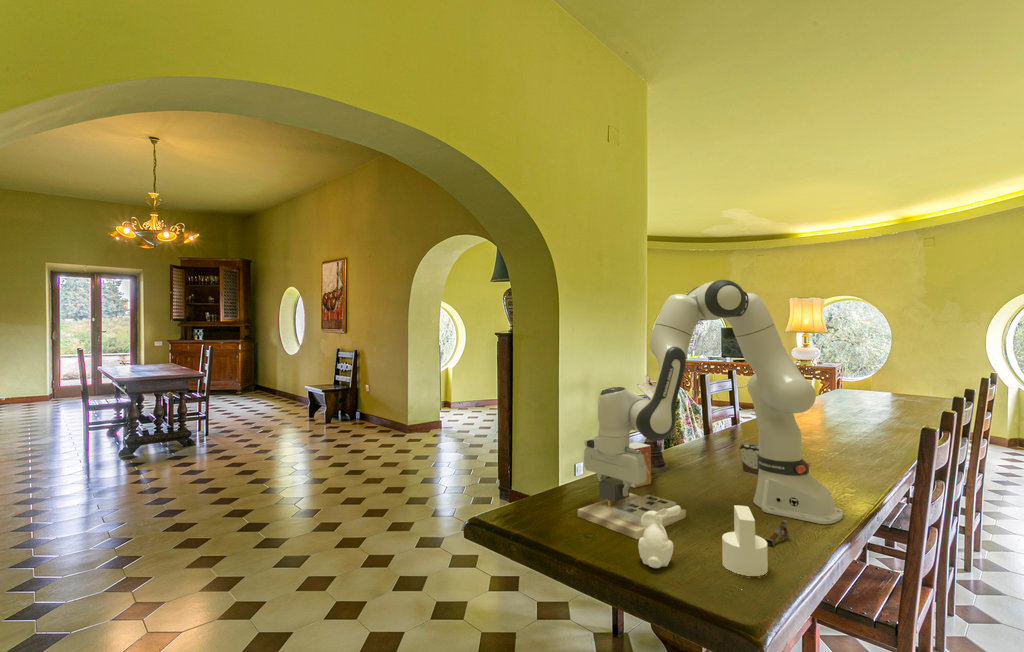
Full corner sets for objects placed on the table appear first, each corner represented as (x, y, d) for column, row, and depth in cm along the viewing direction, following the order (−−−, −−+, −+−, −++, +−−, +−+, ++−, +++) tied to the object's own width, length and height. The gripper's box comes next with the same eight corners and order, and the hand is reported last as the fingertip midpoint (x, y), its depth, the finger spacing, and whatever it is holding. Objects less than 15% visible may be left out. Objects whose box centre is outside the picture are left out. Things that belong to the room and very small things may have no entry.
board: (685, 517, 139) (685, 510, 139) (637, 539, 125) (637, 531, 125) (626, 498, 154) (626, 492, 154) (577, 516, 140) (577, 509, 140)
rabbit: (639, 547, 120) (639, 497, 120) (680, 552, 118) (680, 501, 118) (637, 571, 109) (636, 515, 109) (682, 577, 106) (682, 520, 106)
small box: (634, 488, 164) (634, 448, 164) (620, 483, 169) (620, 444, 169) (651, 484, 168) (651, 445, 168) (637, 479, 173) (636, 441, 173)
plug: (634, 502, 145) (634, 479, 145) (614, 509, 140) (614, 486, 140) (618, 497, 150) (618, 475, 150) (599, 504, 144) (599, 481, 144)
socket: (676, 511, 137) (676, 502, 137) (641, 527, 127) (640, 517, 127) (648, 503, 144) (648, 494, 144) (612, 516, 134) (612, 507, 134)
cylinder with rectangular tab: (720, 555, 116) (719, 503, 116) (763, 560, 113) (762, 507, 113) (724, 574, 107) (724, 518, 107) (771, 580, 104) (771, 522, 104)
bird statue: (688, 471, 182) (687, 374, 182) (665, 477, 174) (664, 377, 174) (651, 461, 195) (650, 371, 195) (628, 467, 188) (627, 373, 188)
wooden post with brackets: (793, 534, 124) (789, 519, 123) (776, 556, 120) (771, 540, 119) (786, 532, 126) (781, 516, 125) (769, 553, 122) (764, 537, 121)
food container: (781, 476, 175) (781, 447, 175) (772, 479, 171) (772, 450, 171) (748, 468, 185) (747, 441, 185) (738, 471, 182) (738, 443, 182)
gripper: (651, 449, 138) (651, 499, 138) (594, 436, 154) (594, 481, 154) (636, 452, 134) (637, 504, 134) (580, 440, 150) (580, 486, 150)
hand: (614, 492), depth 144 cm, fingers closed on plug, 6 cm apart
